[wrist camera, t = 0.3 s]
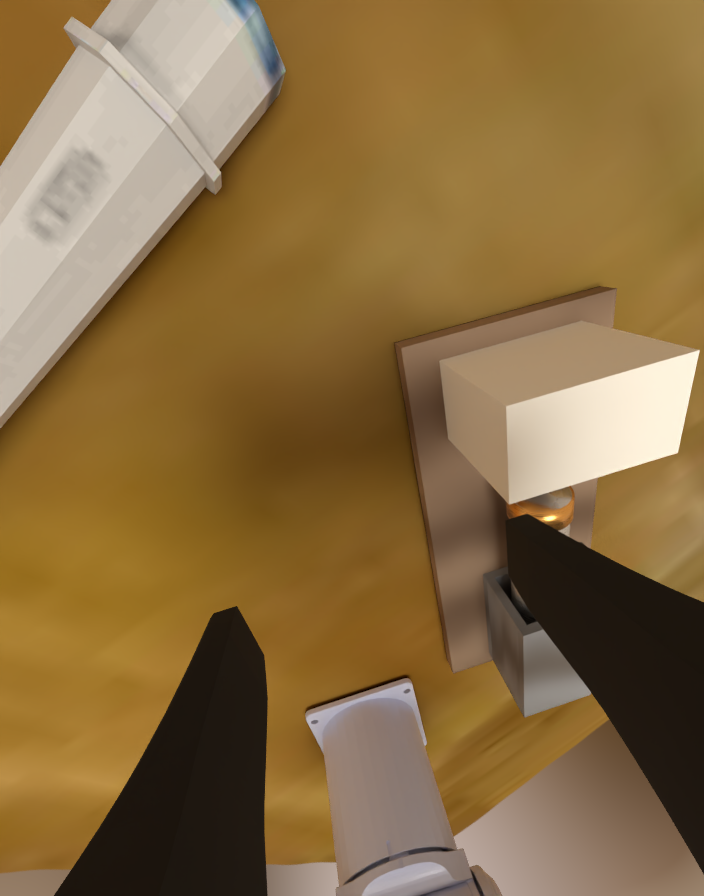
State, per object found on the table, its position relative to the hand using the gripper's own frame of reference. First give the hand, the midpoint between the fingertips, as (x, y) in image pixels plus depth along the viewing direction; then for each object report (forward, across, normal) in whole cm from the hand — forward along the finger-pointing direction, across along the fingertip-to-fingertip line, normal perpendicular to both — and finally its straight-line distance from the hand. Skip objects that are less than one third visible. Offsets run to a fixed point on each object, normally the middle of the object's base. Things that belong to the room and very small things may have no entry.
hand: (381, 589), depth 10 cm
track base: (+10, -9, +9) cm, 16 cm away
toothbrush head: (+10, +10, -7) cm, 16 cm away
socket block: (+10, -9, 0) cm, 13 cm away
